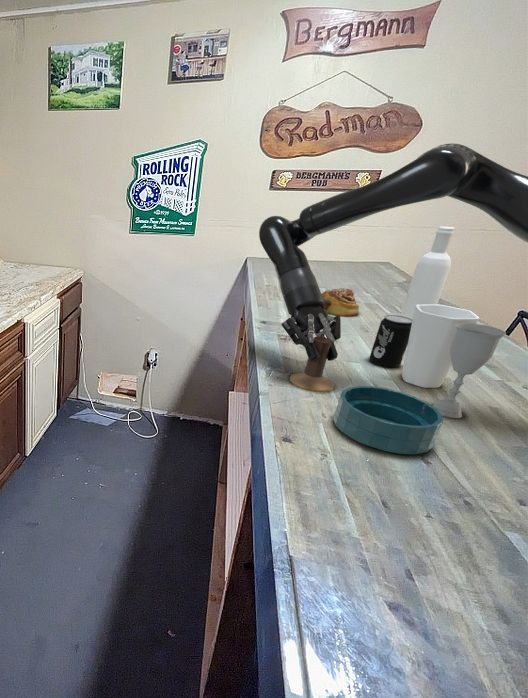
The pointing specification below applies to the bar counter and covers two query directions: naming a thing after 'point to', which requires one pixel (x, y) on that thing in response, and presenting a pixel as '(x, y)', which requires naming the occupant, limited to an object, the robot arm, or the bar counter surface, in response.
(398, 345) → the beverage can
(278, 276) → the robot arm
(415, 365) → the cup
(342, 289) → the pastry
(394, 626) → the bar counter surface
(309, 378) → the coaster
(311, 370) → the brown cylinder
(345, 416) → the bowl
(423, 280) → the bottle
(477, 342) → the chalice
